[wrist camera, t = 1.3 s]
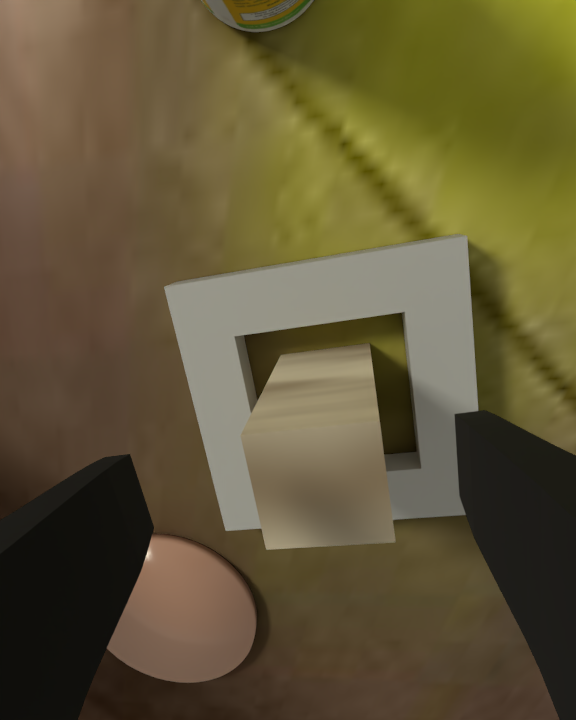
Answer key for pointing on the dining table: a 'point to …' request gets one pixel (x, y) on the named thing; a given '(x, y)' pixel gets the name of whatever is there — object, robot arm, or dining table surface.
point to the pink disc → (185, 614)
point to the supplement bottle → (257, 13)
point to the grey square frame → (326, 305)
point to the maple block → (319, 452)
